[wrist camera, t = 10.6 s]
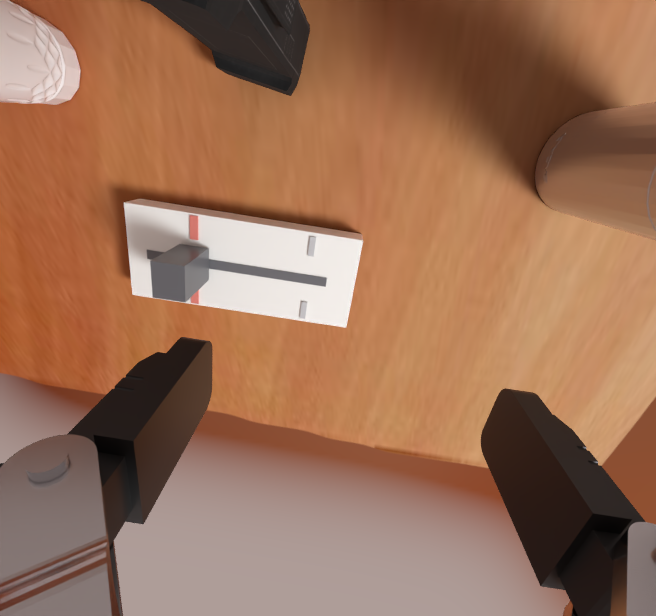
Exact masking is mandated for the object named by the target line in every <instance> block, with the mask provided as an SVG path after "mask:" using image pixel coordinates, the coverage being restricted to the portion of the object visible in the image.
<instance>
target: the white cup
mask: <svg viewBox="0 0 656 616" xmlns="http://www.w3.org/2000/svg"><path fill="white" fill-rule="evenodd" d="M80 72H81V70H80V66H79V63H78V59H77V55H76V52H75V50H74V48H73V47H72V45H71V44H70V42H69V41H68V39H67V38H66V37H65V35H64V34H63V32H61V31H60V30H59V29H57V28H56V27H55V26H53V25H52V24H51V23H49V22H48V21H46V20H45V19H43V18H41V17H39V16H37V15H35V14H33V13H31V12H29V11H28V10H26V9H24V8H23V7H21V6H19V5H17V4H15V3H14V2H11V1H9V0H0V102H7V103H27V104H31V103H43V104H53V105H58V104H60V103H63V102H66V101H69V100H71V98H72V97H73V95H74V94H75V93H76V91H77V90H78V88H79V82H80Z"/></svg>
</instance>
